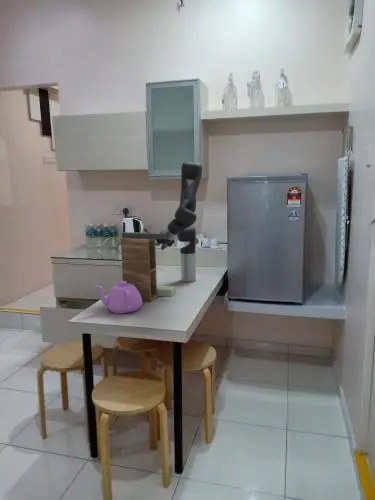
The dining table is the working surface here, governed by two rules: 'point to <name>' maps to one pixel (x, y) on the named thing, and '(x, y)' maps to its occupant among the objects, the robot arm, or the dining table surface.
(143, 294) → the shelf tower
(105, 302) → the teapot
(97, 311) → the dining table surface
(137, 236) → the domino bar
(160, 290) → the green block
